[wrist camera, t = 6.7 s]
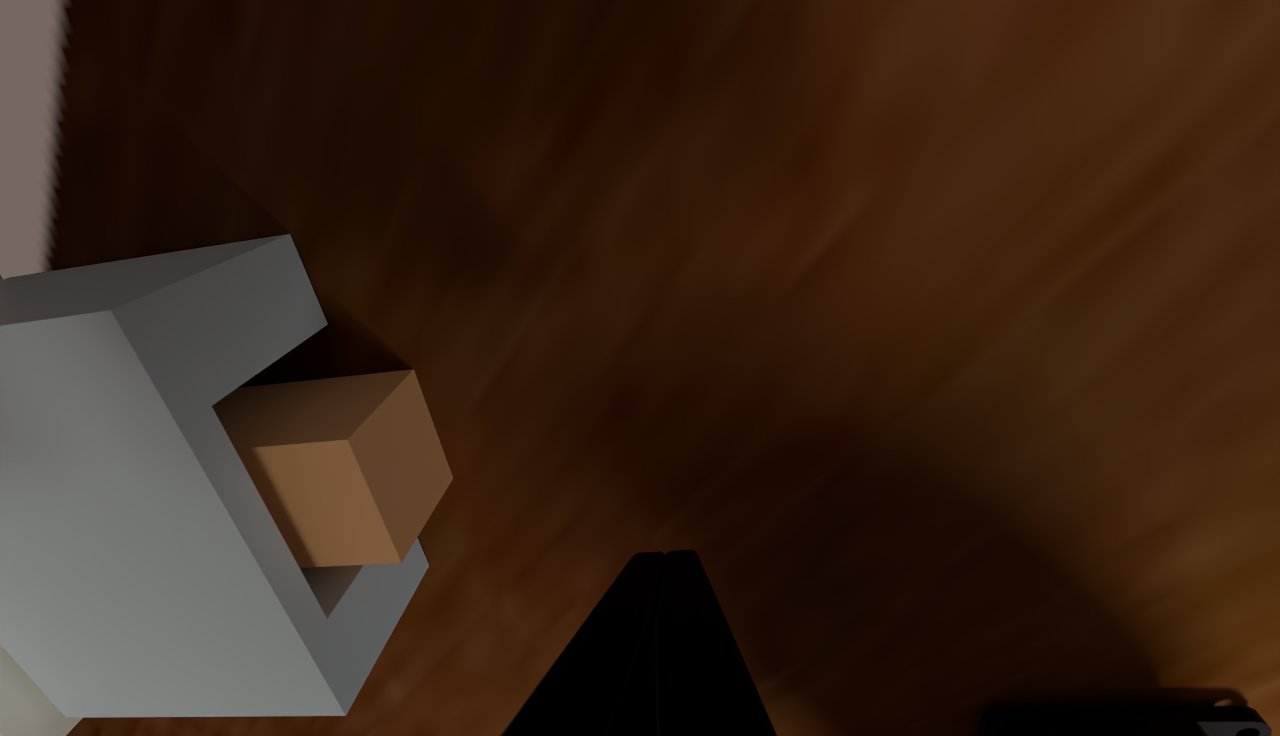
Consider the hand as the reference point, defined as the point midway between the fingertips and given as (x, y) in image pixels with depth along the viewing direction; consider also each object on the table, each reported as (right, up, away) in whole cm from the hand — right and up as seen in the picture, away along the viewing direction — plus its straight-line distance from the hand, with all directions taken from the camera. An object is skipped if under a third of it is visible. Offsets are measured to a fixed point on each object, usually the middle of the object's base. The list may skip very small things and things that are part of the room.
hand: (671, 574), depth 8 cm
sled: (-10, +1, +7) cm, 12 cm away
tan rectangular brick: (-8, +1, +7) cm, 11 cm away
